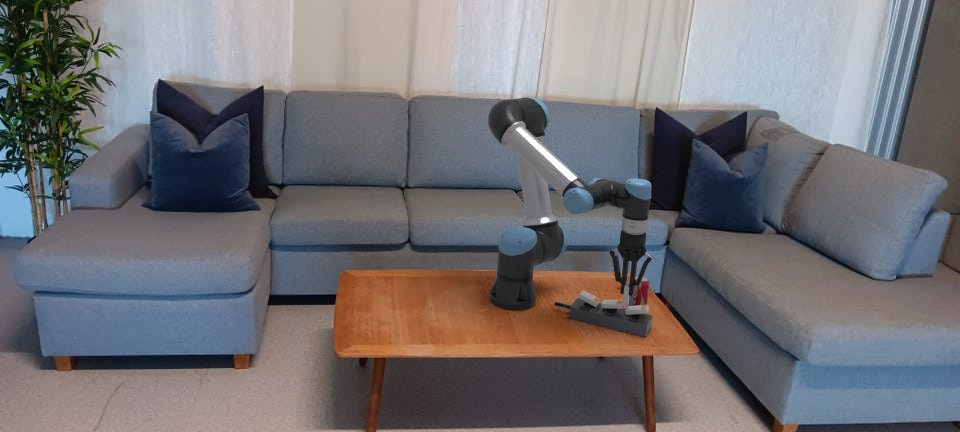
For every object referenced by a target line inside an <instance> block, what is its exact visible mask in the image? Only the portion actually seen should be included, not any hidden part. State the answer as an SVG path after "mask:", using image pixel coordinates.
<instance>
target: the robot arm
mask: <svg viewBox="0 0 960 432" xmlns="http://www.w3.org/2000/svg"><path fill="white" fill-rule="evenodd" d="M549 123H550V112H549V109H548V107H547V105H546V104H545V103H544V102H543V101H541V100H540V99H538V98H536V97H529V96H528V97H520V98H512V99H502V100H499V101H498V102H496V103H495V104H494V105H493V106H491V108H490V110H489V112H488V116H487V125H488V128H489V131H490V133H491V134H492V135H493V137H494V138H495V139H496V141H498V142H499V143H500V145H502V146H503V147H505V148H509V149H510V150H512V151H513V152H514V153H515V154H516V158H517V165H518V172H519V177H520V179H519V180H520V183H521V191H522V198H523V203H524V212H525V216H526V217H525V220H524V221H523V223H522V226H518V227H517V226H514V227H509V228H507V229H505V230H504V231H503V232H501V234H500V237H499V242H498V251H497V252H498V253H497V265H496V266H497V267H496V276H495V279H494V281H493V284H492V285H491V288H490V290H489V295H488V296H489V299H488V300H489V301H490V302H491V304H492V305H494V306H497V307H498V308H502V309H505V310H513V311H521V310H522V311H524V310H528V309H531V308H533V307H535V305H536V303H537V292H536V288H535V283H534V271H535V270H534V269H535V267H536V266H539V265H541V264H544V263H548V262H552V261H554V260H556V259H557V258H559V257H561V256H562V255H563V254H564V253H565V251H566V249H567V247H568V235H567V231H566V230H565V229H563V226H562V225H561V224H559V220H558V218H557V217H556V216H555V215H553V211H552V204H551V198H550V190H549V186H551V188H553V189H554V190H555V191H556V192H557V193H558V194H559V195H560V196H561V197H562V199H563V205H564V207H565V209H566V211H567V212H568V213H570V214H573V215H582V214H587V213H589V212H591V211H594V210H598V209H599V210H600V209H601V208H605V207H613V208H617V209H621V210H622V216H621V226H620V228H621V230H620V233H619V235H620V236H619V243H618V245H617V247H616V248H612V249H611V250H609V255H610V257H611V259H612V266H613V272H614V279H615V282H618V283H619V284H620V292H619V293H620V294H621V295H623V296H622V300H623V304H622V306H624V307H626V306H627V305H628V304H629V298H630V296H632V295H633V293H634V286H636V285H637V286H638V285H639V284H640V283H641V281H642V278H643V276H645V274H646V271H647V268H648V265H649V263H651V262H652V260H653V258H654V257H653V255H650V254H649V253H648V252H647V248H646V241H647V233H646V232H647V231H648V225H649V213H650V205H651V199H652V183H651V181H649V180H647V179H644V178H635V177H634V178H628V179H627V180H626V181H625V183H623V182H619V181H614V180H611V179H607V178H604V177H602V178H601V177H594V178H593V179H592V180H591V181H589V183H587V182H585V181H584V180H583V179H581V177H580V176H578V175H577V173H575V172H574V171H573V170H572V169H571V168H570V167H568V166H567V165H566V164H565V163H564V161H562V160H561V159H560V158H559V157H558V156H556V155H555V154H554V153H553V152H552V151H551V150H550V149H549V148H548V147H546V145H545V144H544V143H543V141H544V139H545V138H546V132H545V130H546V129H547V128H548V125H549ZM619 255H620V256H621V258H622V271H621V268H620V267H621V266H620V260H619V259H620V258H619ZM642 257H643V261H644V262H643V263H642V266H641V268H640V271H639V273H638V274H637V270H638V269H637V267H638V262H639V261H640V260H641V258H642ZM630 262H631V264H630V266H631V267H630V276H629V283H628V274H629V263H630ZM636 275H638V278H637V280H635V278H636Z"/></svg>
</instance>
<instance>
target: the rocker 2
mask: <svg viewBox="0 0 960 432" xmlns="http://www.w3.org/2000/svg"><path fill="white" fill-rule="evenodd" d="M600 303H601V306H602V308H617V309H622V308H623V309H624V307H625V306H622V304H623V299H604V300H603V301H602V302H600Z"/></svg>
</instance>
